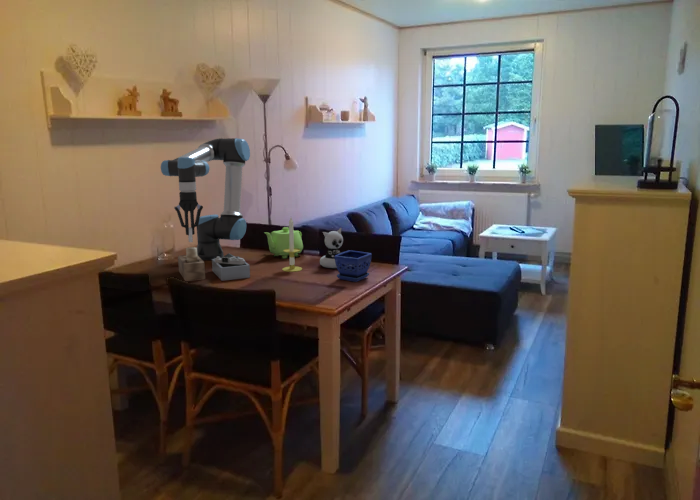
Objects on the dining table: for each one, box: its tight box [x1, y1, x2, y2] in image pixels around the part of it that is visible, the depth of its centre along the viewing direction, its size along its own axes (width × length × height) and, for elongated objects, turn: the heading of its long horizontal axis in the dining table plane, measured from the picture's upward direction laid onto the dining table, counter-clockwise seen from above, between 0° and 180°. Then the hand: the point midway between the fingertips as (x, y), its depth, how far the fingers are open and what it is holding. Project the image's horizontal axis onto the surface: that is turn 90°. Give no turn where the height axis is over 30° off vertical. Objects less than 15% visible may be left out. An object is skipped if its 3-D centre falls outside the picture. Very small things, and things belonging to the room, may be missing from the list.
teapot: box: [263, 226, 304, 260], centre depth 308 cm, size 25×22×16 cm
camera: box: [215, 252, 246, 267], centre depth 269 cm, size 16×9×10 cm, turn 74°
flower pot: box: [334, 249, 373, 283], centre depth 260 cm, size 13×13×12 cm
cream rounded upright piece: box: [185, 246, 198, 263], centre depth 261 cm, size 5×5×8 cm
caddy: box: [211, 256, 251, 281], centre depth 268 cm, size 14×20×6 cm, turn 25°
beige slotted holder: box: [177, 254, 206, 282], centre depth 266 cm, size 9×20×8 cm, turn 25°
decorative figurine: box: [319, 227, 344, 269], centre depth 283 cm, size 15×15×20 cm
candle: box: [281, 217, 303, 273], centre depth 275 cm, size 10×10×27 cm
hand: (190, 241), depth 260 cm, fingers closed
